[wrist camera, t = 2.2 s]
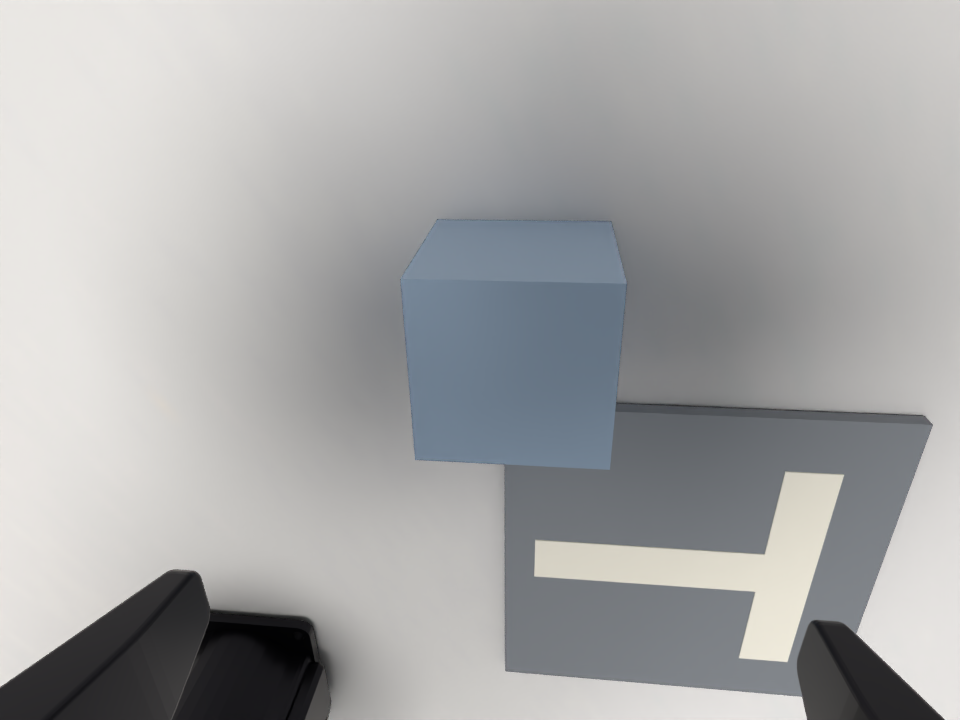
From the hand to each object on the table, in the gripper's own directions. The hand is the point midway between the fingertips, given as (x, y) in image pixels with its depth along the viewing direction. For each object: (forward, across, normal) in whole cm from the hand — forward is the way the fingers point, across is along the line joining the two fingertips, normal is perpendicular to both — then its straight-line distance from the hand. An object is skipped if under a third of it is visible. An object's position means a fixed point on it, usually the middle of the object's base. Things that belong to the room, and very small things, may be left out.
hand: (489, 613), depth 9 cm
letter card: (+12, -6, +10) cm, 16 cm away
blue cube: (+12, 0, 0) cm, 12 cm away
